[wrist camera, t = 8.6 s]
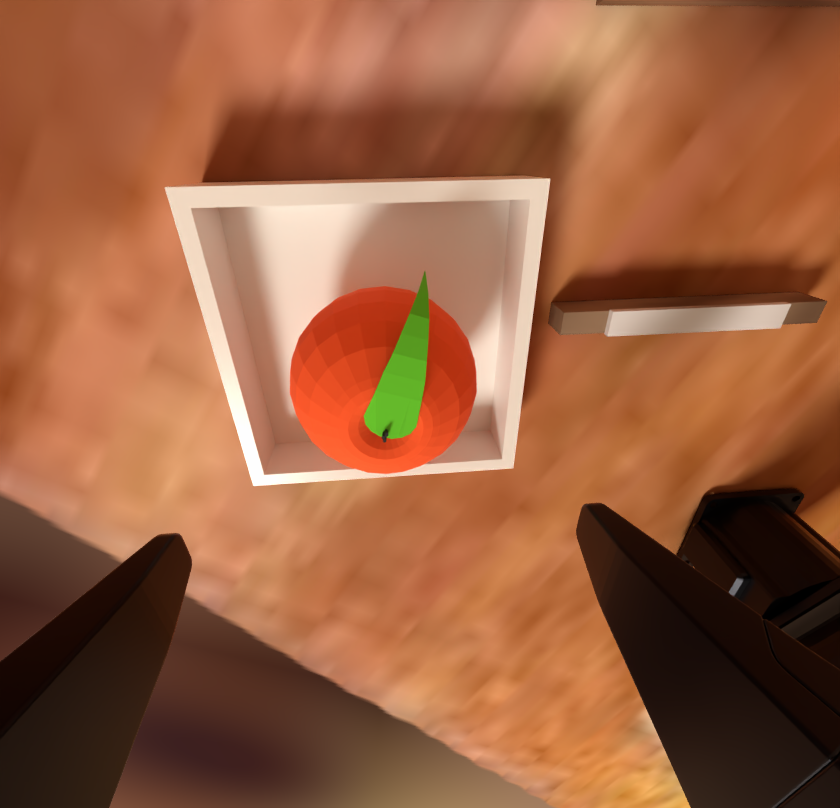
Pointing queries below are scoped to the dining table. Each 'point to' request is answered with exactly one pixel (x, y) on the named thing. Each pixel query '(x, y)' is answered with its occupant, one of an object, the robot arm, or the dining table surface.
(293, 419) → the bin
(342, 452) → the clementine
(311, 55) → the dining table surface
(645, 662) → the robot arm
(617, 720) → the dining table surface
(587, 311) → the cradle
